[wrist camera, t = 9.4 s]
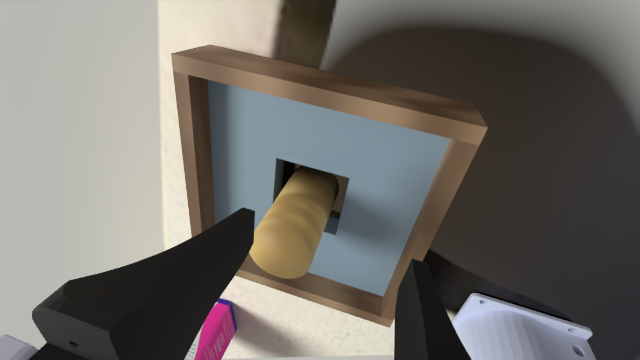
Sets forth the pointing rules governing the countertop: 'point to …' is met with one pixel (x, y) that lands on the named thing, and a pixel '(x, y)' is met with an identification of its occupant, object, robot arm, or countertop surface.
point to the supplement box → (214, 333)
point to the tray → (340, 96)
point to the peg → (295, 223)
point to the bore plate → (331, 156)
